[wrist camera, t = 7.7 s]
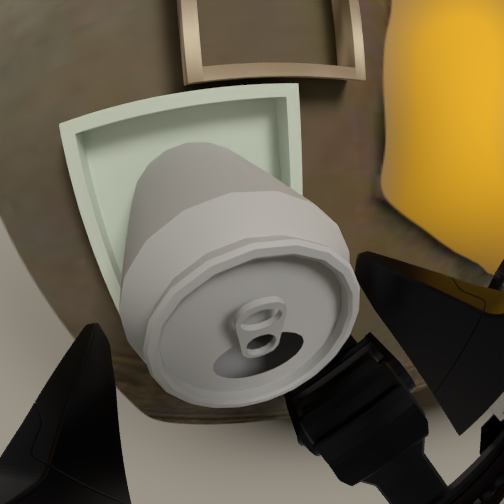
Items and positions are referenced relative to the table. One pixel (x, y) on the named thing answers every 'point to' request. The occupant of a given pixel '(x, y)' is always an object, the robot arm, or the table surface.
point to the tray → (166, 137)
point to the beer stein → (498, 279)
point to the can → (231, 279)
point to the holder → (347, 60)
